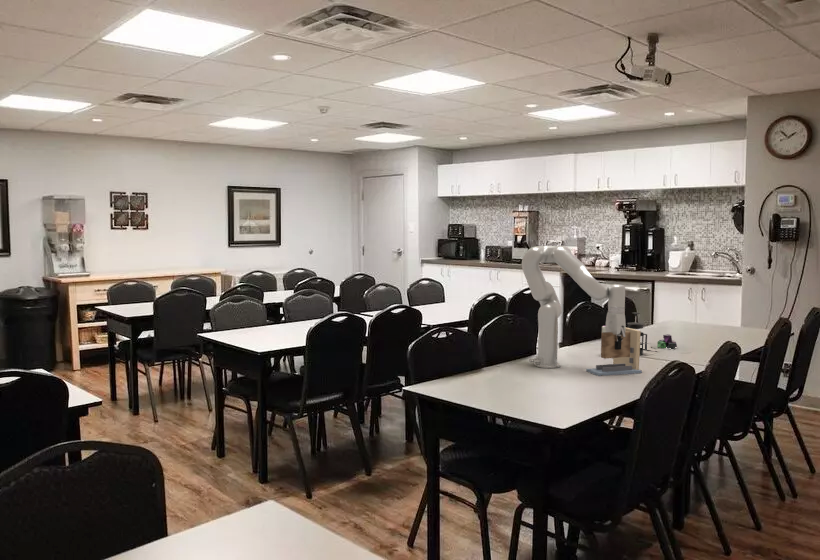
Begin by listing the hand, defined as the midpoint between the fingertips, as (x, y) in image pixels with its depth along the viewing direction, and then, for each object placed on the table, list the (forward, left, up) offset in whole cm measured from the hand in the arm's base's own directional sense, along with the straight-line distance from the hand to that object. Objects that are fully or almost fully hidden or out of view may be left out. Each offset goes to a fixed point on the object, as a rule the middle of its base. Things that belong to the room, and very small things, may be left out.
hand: (615, 348), depth 313 cm
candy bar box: (+22, +33, -12) cm, 41 cm away
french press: (+39, +36, -12) cm, 54 cm away
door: (0, 0, -4) cm, 4 cm away
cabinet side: (0, +5, -12) cm, 13 cm away
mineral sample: (+69, +49, -12) cm, 85 cm away
